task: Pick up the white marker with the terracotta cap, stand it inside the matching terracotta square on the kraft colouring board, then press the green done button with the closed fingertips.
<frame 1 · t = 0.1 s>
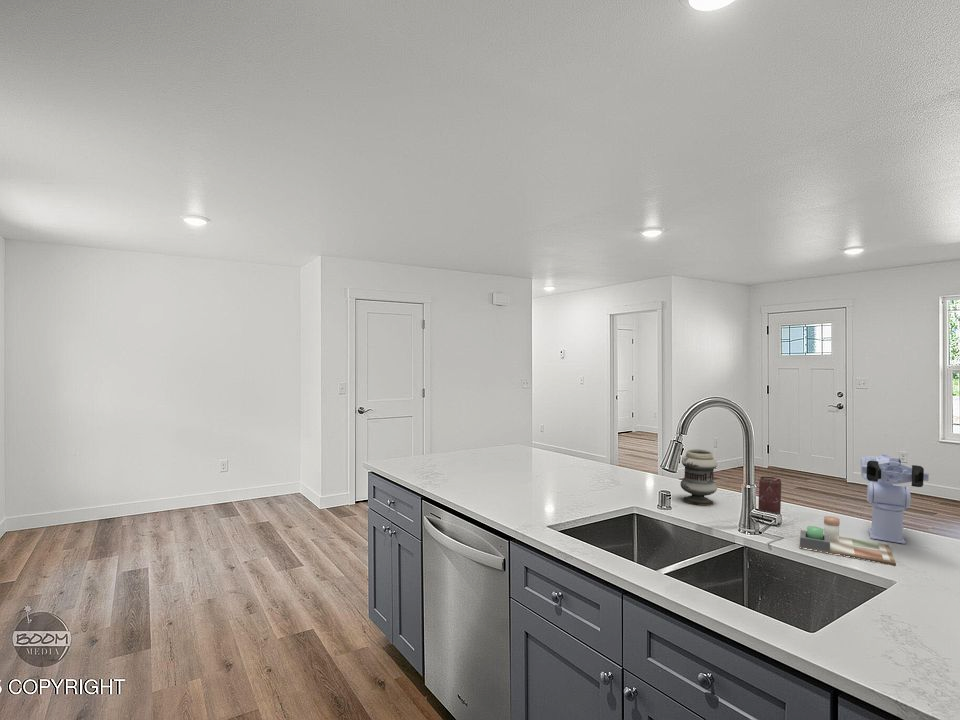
hand: (897, 476, 142), 22 cm above the worktop, tool horizontal, fingers open, 7 cm apart
done button: (815, 533, 149), point 4 cm above the worktop, slide at 0.0 cm
board: (844, 547, 149), on the worktop
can: (769, 523, 170), on the worktop
marker: (831, 539, 154), point 1 cm above the worktop, touching board
apothecary jar: (698, 502, 193), on the worktop
button housing: (814, 547, 149), resting on board
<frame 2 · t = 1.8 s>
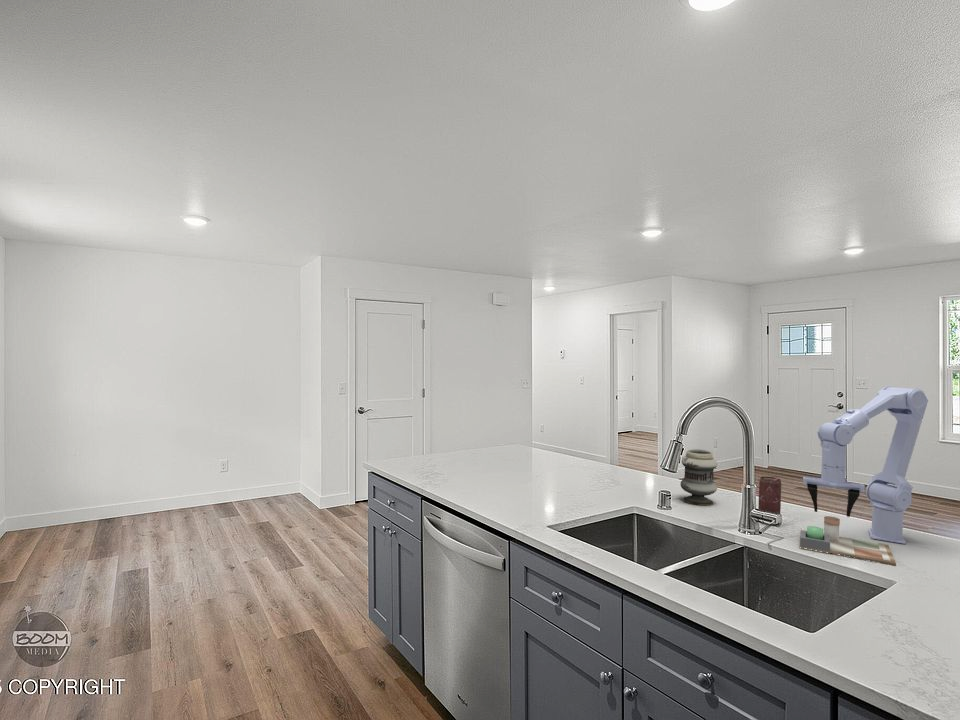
hand: (831, 513, 154), 8 cm above the worktop, tool pointing down, fingers open, 7 cm apart
nothing on the worktop moved.
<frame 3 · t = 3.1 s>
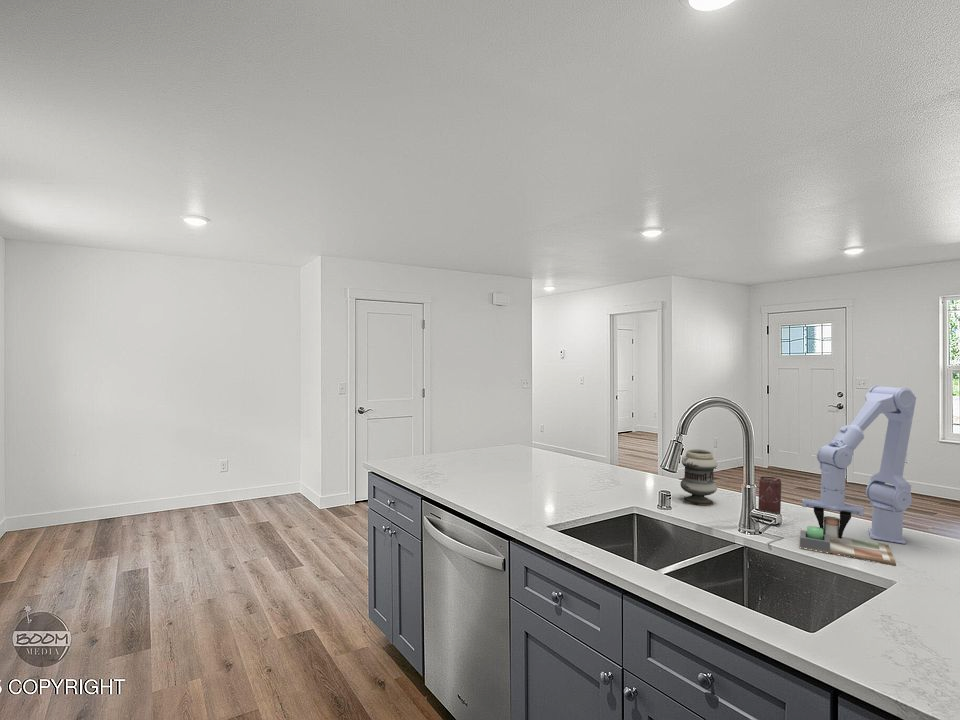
hand: (831, 536, 154), 2 cm above the worktop, tool pointing down, fingers closed on marker, 4 cm apart
marker: (831, 539, 154), point 1 cm above the worktop, touching board, gripper
everything else where it was.
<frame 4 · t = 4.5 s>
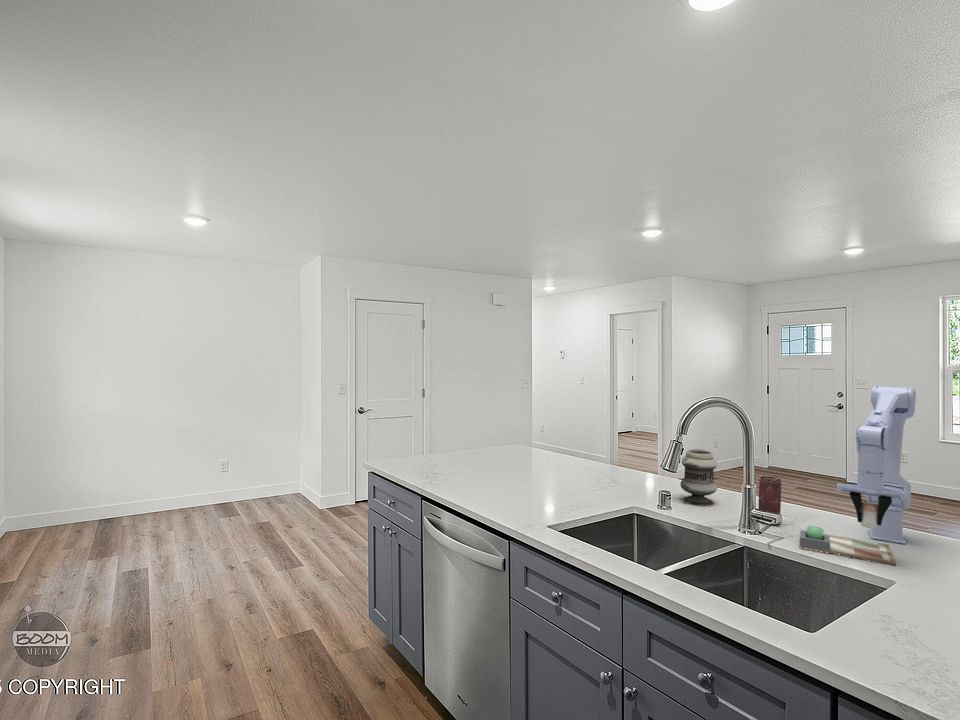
hand: (869, 522, 143), 9 cm above the worktop, tool pointing down, fingers closed on marker, 4 cm apart
marker: (868, 526, 143), point 8 cm above the worktop, touching gripper
everything else where it was.
when the fingers open (3 cm above the worktop, at t = 5.9 s): marker drops 1 cm, resting on board.
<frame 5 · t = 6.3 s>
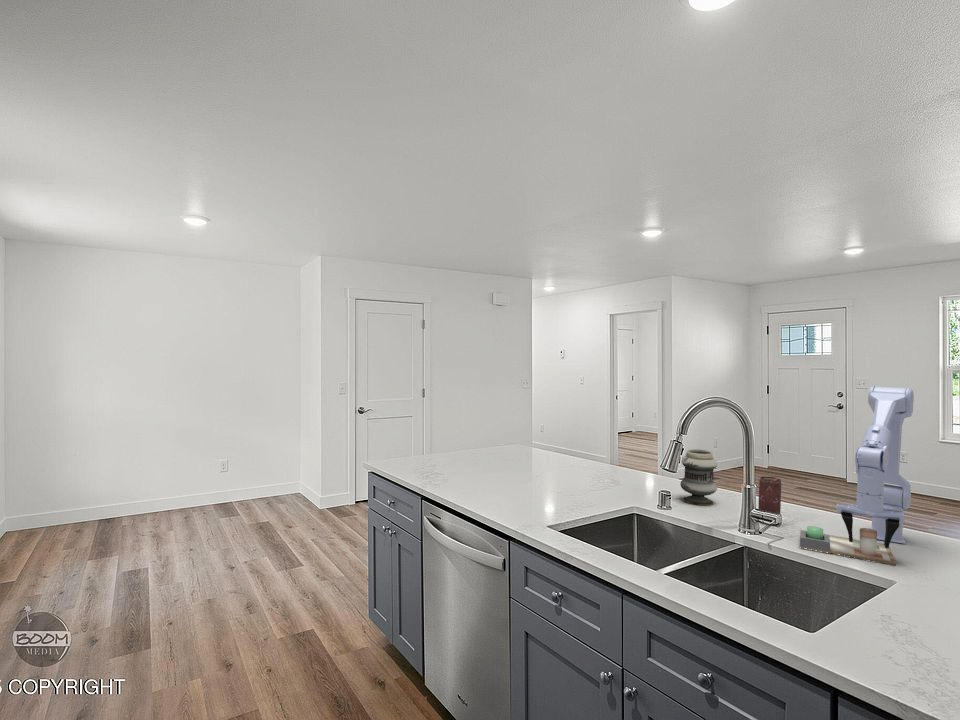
hand: (868, 544, 143), 3 cm above the worktop, tool pointing down, fingers open, 7 cm apart
marker: (867, 552, 143), point 1 cm above the worktop, touching board
everything else where it was.
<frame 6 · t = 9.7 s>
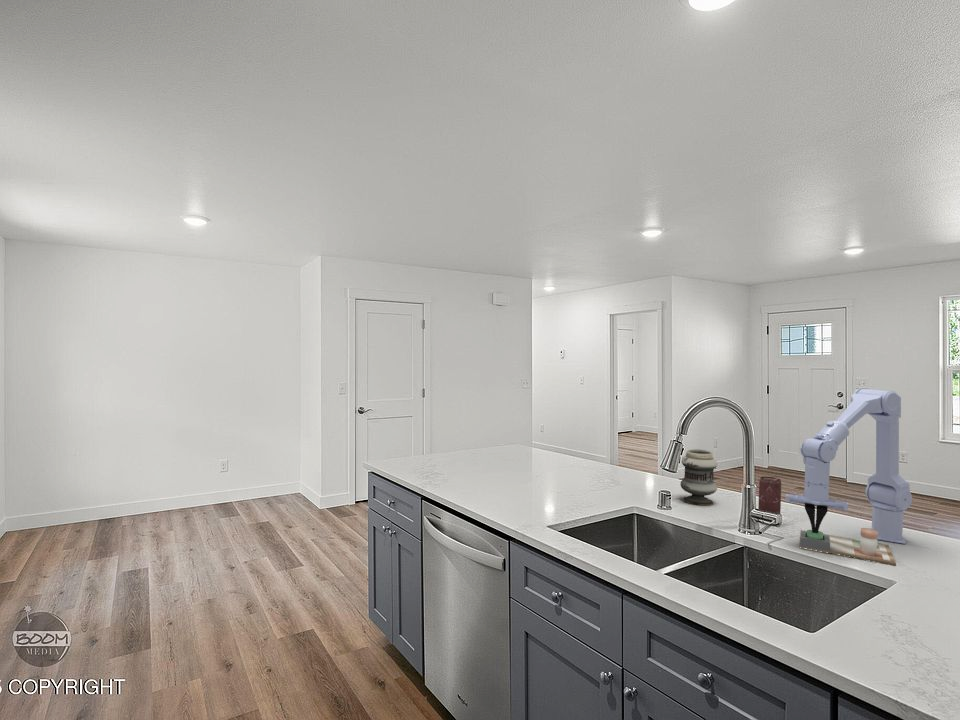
hand: (815, 532, 149), 4 cm above the worktop, tool pointing down, fingers closed, pressing on done button
done button: (814, 537, 149), point 3 cm above the worktop, slide at 1.0 cm, touching gripper
everything else where it was.
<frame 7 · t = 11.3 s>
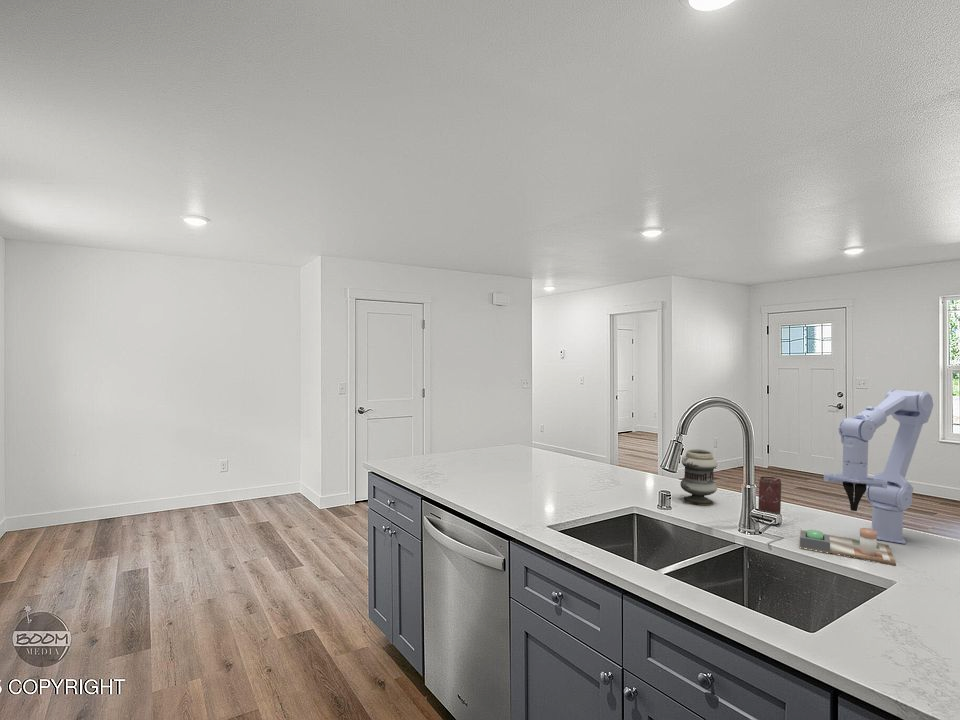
hand: (853, 510, 152), 10 cm above the worktop, tool pointing down, fingers closed
done button: (814, 537, 149), point 3 cm above the worktop, slide at 1.0 cm
everything else where it was.
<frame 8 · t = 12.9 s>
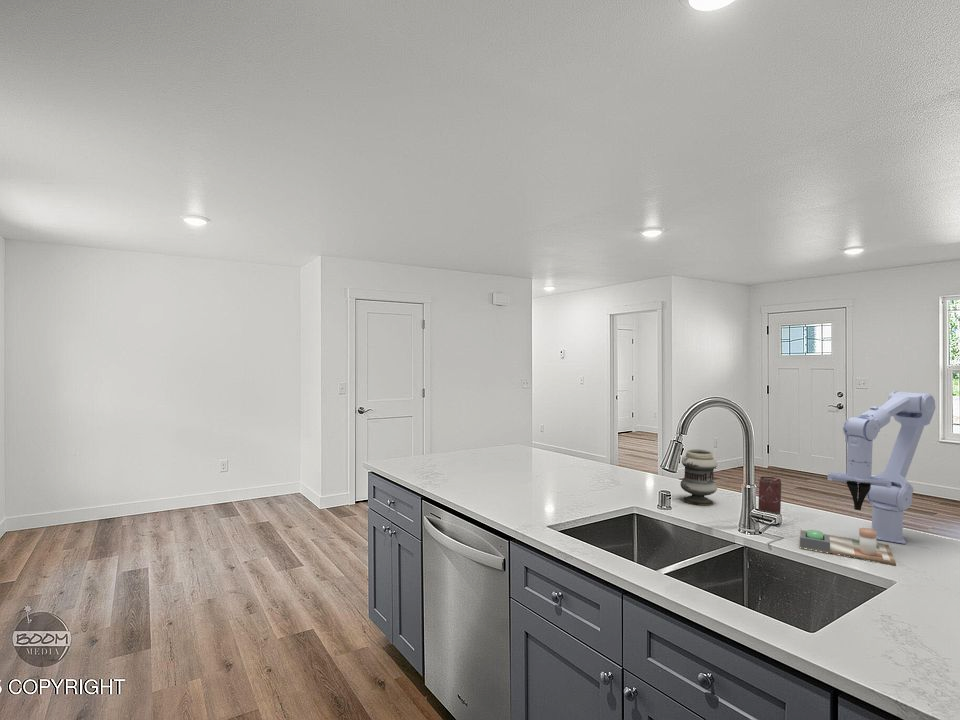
hand: (857, 509, 152), 10 cm above the worktop, tool pointing down, fingers closed
nothing on the worktop moved.
at the end: marker 0.0 cm from the target spot on the board, point 0.9 cm above the board's base; marker tilted 2°; done button slide at 1.0 cm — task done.
